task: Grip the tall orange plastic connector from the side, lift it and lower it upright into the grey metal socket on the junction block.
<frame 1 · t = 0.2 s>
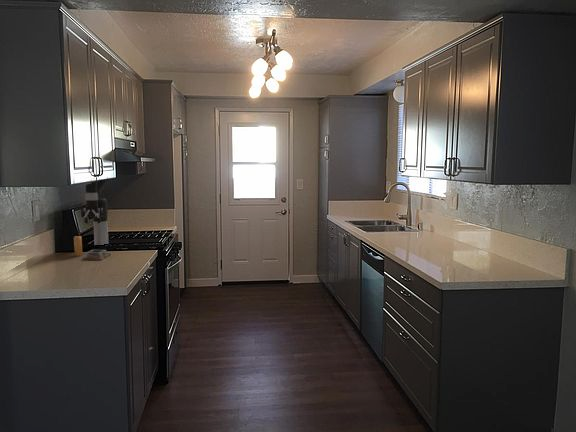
hand: (92, 223, 319), 17 cm above the worktop, fingers open, 8 cm apart
junction block: (96, 257, 295), on the worktop
connector: (78, 255, 301), on the worktop
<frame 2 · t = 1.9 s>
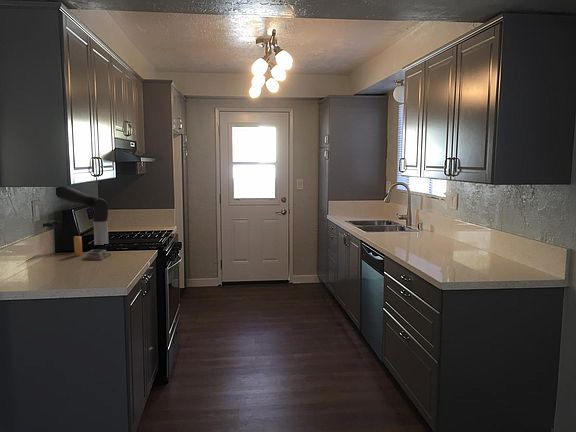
hand: (56, 224, 298), 20 cm above the worktop, fingers open, 8 cm apart
nothing on the worktop moved.
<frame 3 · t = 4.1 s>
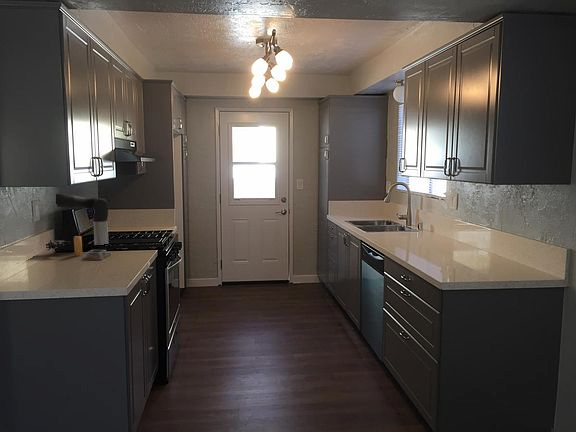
hand: (67, 244, 300), 7 cm above the worktop, fingers open, 8 cm apart
nothing on the worktop moved.
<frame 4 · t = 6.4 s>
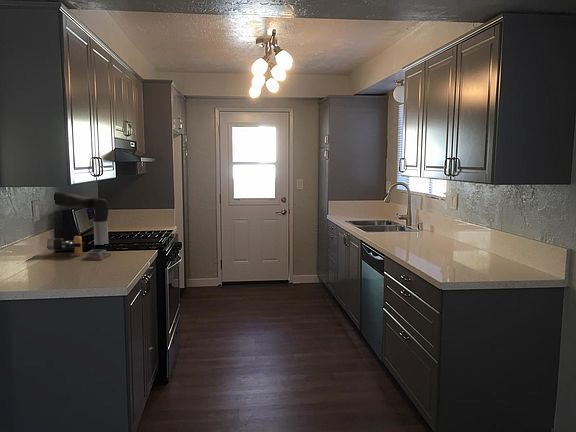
hand: (82, 244, 300), 7 cm above the worktop, fingers closed on connector, 4 cm apart
connector: (78, 255, 301), on the worktop, touching gripper
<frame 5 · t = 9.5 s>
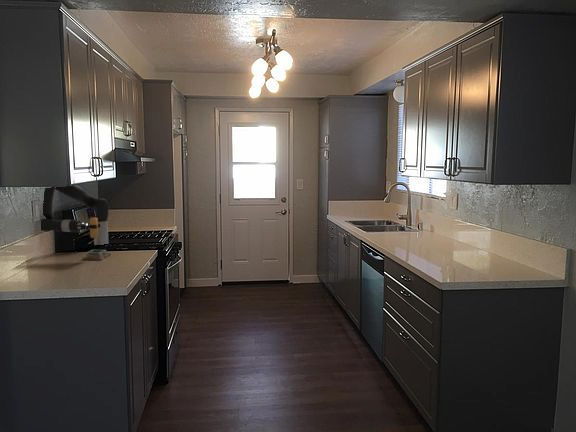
hand: (98, 226, 292), 20 cm above the worktop, fingers closed on connector, 4 cm apart
connector: (94, 237, 293), point 13 cm above the worktop, touching gripper
when the fingers open (9 cm above the worktop, at t = 12.7 s): connector stays where it is, resting on junction block.
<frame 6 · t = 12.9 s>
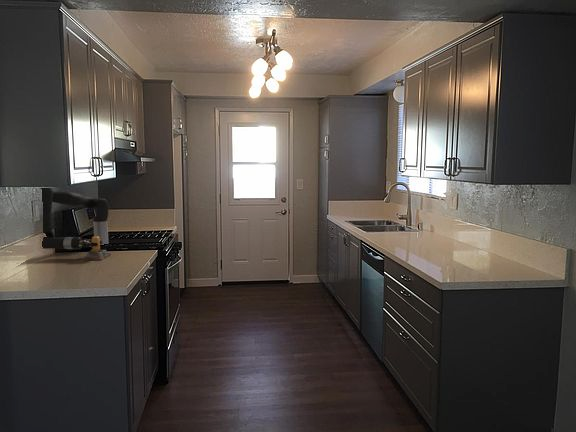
hand: (99, 243, 294), 9 cm above the worktop, fingers open, 6 cm apart
connector: (96, 255, 295), point 1 cm above the worktop, touching junction block
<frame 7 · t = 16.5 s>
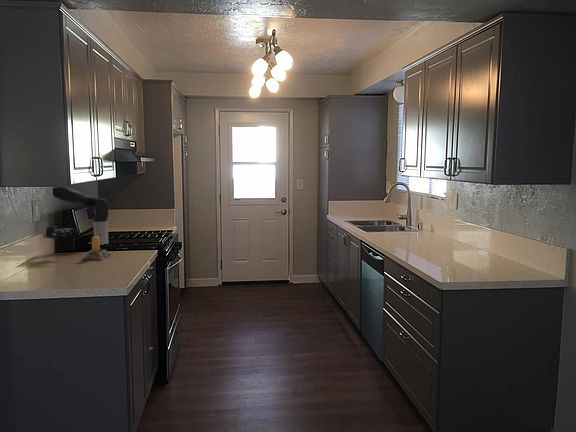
hand: (74, 232, 293), 16 cm above the worktop, fingers open, 8 cm apart
nothing on the worktop moved.
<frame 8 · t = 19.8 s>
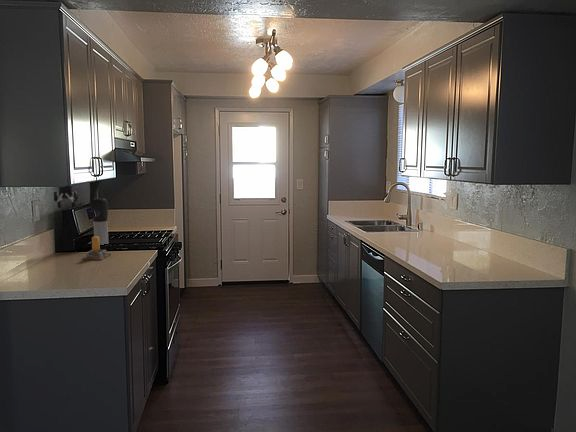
hand: (66, 207, 299), 30 cm above the worktop, fingers open, 8 cm apart
nothing on the worktop moved.
at the end: connector 0.1 cm off-centre on the junction block, point 1.0 cm above the junction block's base; connector tilted 0°; the gripper is holding nothing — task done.
